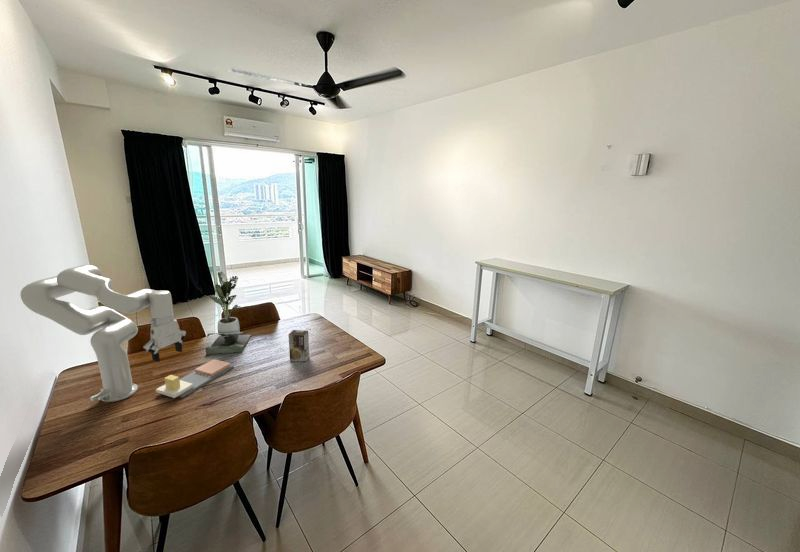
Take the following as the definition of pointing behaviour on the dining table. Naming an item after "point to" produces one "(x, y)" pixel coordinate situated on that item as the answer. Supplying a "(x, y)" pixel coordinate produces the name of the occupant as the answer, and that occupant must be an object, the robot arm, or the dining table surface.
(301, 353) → the coffee box
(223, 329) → the potted plant
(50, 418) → the dining table surface
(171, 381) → the butter dish
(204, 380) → the board
